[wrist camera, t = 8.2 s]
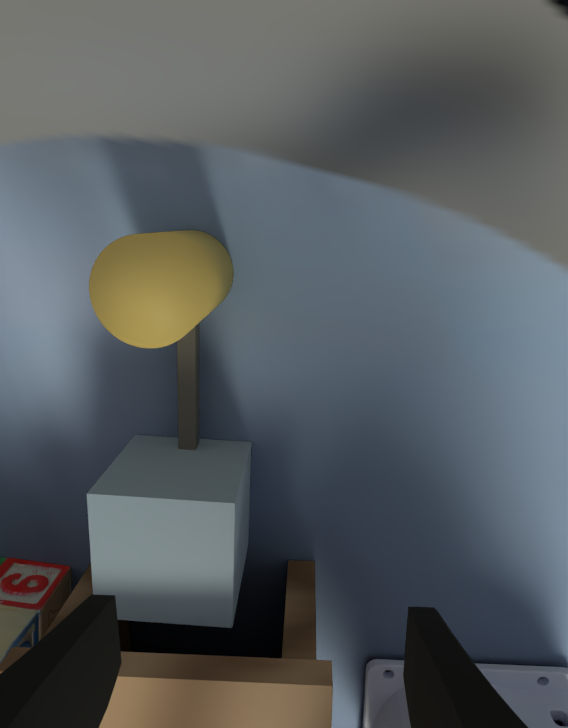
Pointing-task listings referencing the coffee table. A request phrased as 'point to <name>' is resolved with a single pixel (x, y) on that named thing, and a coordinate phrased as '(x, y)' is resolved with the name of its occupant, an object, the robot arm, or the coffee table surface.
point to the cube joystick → (169, 446)
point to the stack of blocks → (29, 600)
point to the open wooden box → (220, 675)
